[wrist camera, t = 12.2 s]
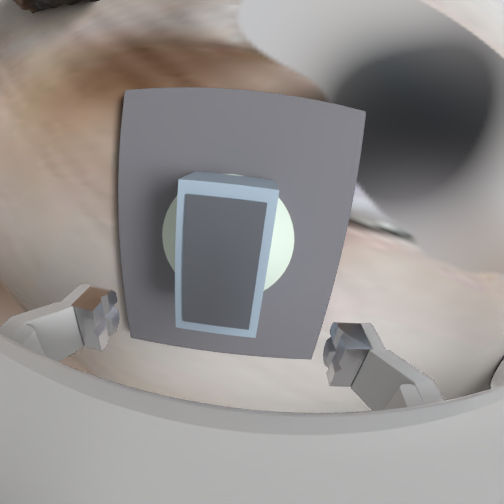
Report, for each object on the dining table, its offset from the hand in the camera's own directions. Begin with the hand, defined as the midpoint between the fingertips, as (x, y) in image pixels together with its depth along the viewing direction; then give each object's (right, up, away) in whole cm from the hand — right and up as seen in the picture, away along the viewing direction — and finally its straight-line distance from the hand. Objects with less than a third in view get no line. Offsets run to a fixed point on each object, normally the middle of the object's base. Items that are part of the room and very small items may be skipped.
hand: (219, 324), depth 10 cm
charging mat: (-1, +4, +10) cm, 11 cm away
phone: (0, +3, +9) cm, 10 cm away
